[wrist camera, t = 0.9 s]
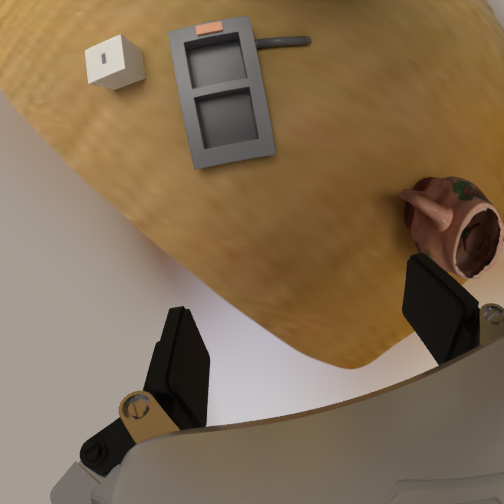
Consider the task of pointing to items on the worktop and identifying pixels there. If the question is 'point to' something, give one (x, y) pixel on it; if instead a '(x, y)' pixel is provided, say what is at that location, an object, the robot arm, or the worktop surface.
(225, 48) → the power strip
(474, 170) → the worktop surface
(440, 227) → the decorative planter
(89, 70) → the block
